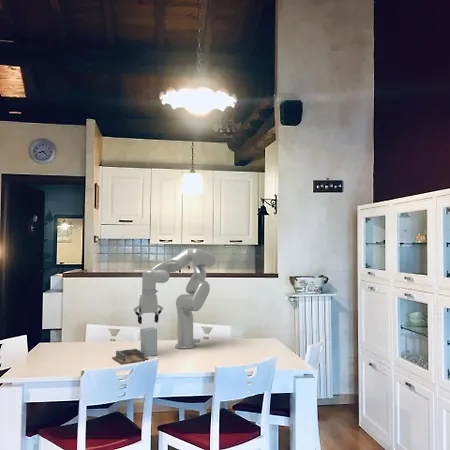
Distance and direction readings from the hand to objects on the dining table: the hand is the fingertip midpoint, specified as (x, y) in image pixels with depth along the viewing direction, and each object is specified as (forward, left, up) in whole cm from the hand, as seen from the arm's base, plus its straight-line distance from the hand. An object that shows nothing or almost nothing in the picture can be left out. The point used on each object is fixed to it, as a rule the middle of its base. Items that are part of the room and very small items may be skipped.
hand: (148, 322), depth 256 cm
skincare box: (-1, 0, -18) cm, 18 cm away
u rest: (+12, +4, -18) cm, 22 cm away
